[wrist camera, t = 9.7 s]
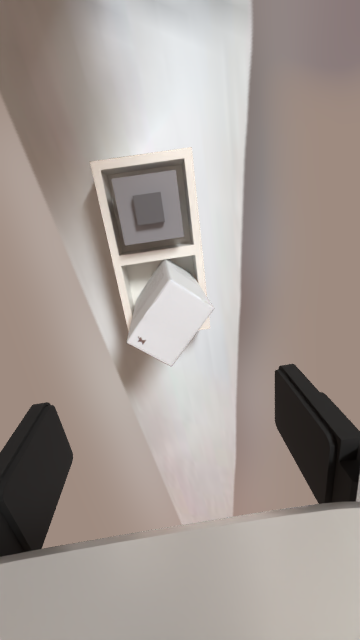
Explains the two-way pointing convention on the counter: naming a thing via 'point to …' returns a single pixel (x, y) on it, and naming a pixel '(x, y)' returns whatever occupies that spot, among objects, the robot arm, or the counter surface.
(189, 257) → the cream rectangular tray
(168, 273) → the skincare box
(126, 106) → the counter surface
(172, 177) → the grey square block
